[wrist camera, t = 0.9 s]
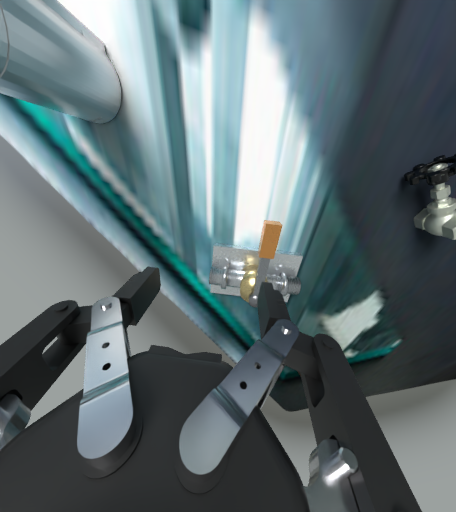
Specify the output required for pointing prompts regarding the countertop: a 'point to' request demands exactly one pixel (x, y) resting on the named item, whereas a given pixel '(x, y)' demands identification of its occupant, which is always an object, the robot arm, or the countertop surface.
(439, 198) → the valve
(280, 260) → the valve manifold
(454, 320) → the countertop surface
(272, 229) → the valve lever
